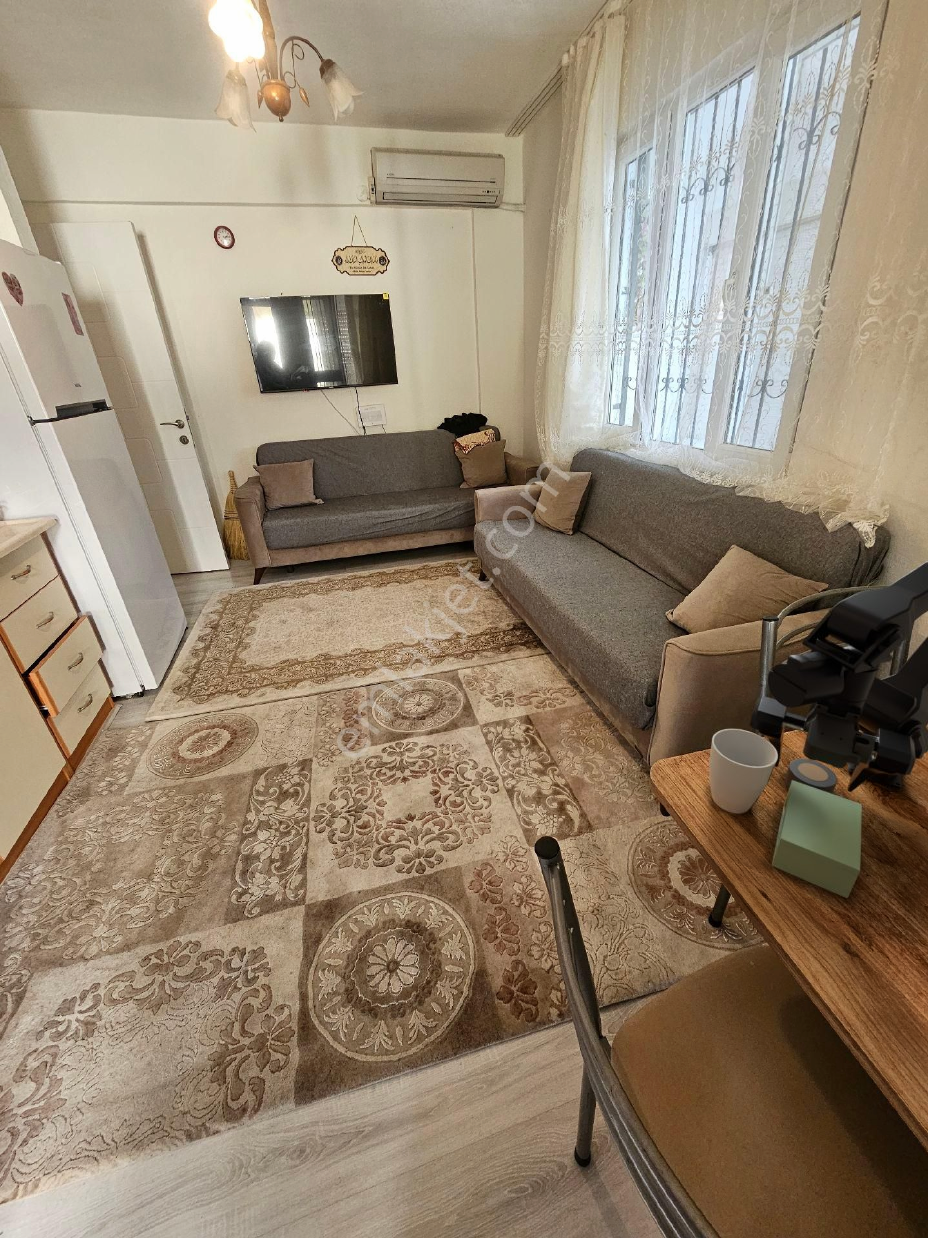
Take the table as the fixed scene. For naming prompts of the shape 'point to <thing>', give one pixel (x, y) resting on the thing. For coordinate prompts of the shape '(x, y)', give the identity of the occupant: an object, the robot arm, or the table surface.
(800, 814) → the sage green box
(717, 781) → the cup
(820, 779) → the tape
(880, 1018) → the table surface
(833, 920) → the table surface
